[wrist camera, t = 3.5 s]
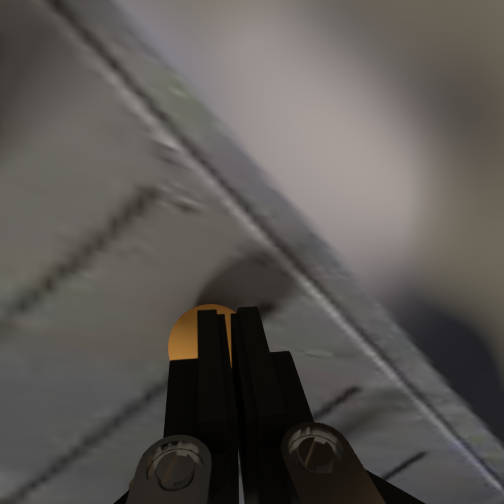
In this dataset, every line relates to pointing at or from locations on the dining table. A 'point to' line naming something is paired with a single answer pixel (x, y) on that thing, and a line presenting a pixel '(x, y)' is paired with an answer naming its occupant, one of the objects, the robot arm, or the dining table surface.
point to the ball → (193, 332)
